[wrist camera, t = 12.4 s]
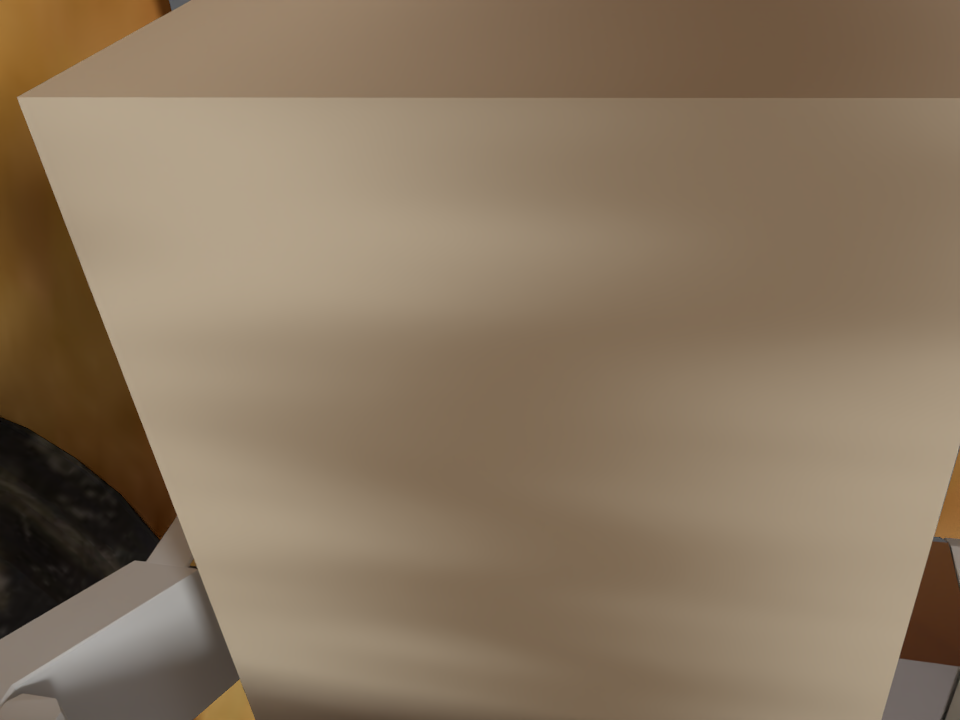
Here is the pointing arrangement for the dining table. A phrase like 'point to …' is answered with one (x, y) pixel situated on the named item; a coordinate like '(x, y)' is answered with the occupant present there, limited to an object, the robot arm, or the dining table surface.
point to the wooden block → (536, 340)
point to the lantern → (57, 528)
